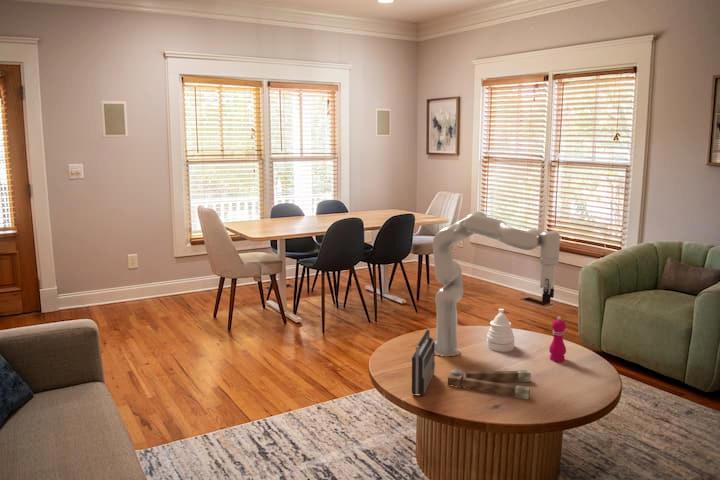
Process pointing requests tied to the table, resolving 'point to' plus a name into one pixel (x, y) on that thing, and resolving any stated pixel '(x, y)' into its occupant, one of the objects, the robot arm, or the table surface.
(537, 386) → the table surface
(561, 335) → the pepper mill
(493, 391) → the tongs base
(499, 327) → the honey pot
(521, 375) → the tongs arm
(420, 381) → the radio
